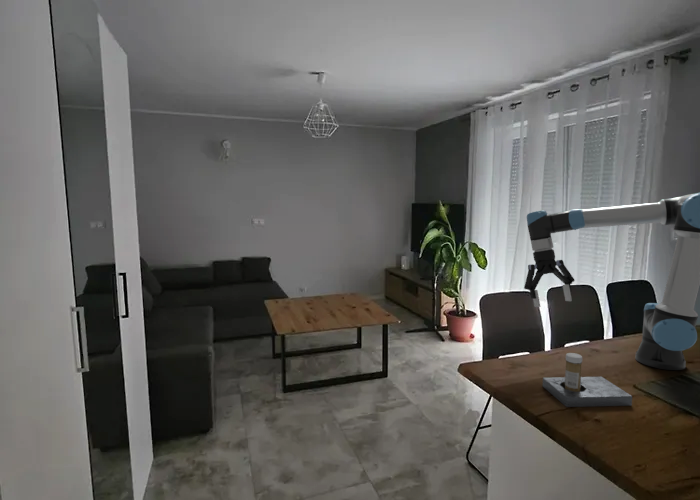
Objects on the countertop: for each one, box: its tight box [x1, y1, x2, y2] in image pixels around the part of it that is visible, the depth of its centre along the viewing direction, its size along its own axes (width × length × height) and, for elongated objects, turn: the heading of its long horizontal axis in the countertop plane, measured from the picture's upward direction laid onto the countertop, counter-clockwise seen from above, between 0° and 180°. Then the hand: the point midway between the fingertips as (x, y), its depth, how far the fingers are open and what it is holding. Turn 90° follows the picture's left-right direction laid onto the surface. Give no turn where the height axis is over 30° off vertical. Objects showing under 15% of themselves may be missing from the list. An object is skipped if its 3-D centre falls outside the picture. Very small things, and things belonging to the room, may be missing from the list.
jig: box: [542, 376, 633, 408], centre depth 125 cm, size 20×14×3 cm
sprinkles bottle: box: [564, 352, 583, 392], centre depth 124 cm, size 5×5×13 cm
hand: (553, 303), depth 153 cm, fingers open, 13 cm apart
